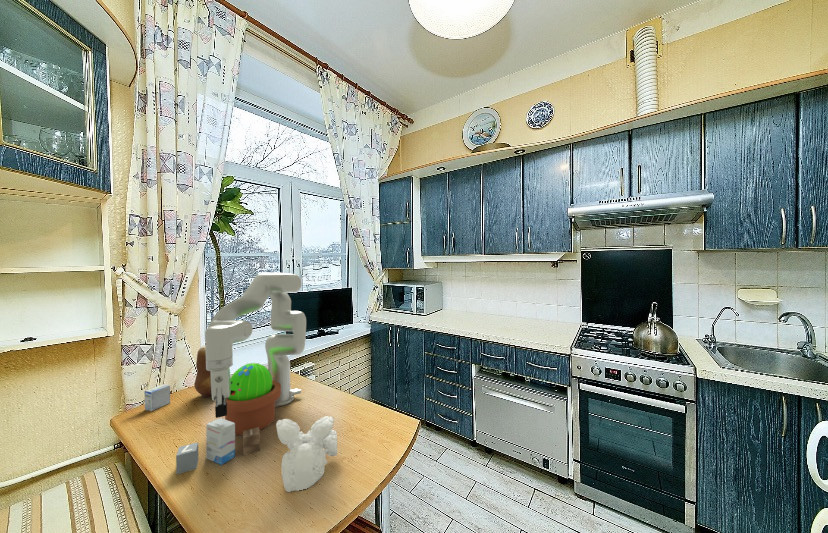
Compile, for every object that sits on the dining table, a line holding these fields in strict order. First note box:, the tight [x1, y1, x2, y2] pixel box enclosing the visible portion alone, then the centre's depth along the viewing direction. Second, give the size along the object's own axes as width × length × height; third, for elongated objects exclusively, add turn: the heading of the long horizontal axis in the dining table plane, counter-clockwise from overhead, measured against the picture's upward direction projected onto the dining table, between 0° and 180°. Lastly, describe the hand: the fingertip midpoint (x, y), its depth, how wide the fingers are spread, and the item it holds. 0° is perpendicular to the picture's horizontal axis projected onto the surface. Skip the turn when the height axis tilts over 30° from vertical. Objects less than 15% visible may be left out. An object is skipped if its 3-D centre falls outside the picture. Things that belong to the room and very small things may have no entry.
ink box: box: [205, 417, 236, 466], centre depth 99 cm, size 9×5×12 cm, turn 65°
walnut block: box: [242, 427, 261, 456], centre depth 104 cm, size 5×5×6 cm
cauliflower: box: [275, 415, 338, 493], centre depth 93 cm, size 19×20×20 cm
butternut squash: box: [194, 344, 212, 399], centre depth 145 cm, size 14×13×25 cm
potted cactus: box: [224, 362, 281, 436], centre depth 120 cm, size 22×22×25 cm
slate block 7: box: [175, 441, 200, 475], centre depth 95 cm, size 5×5×6 cm
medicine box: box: [144, 383, 171, 412], centre depth 134 cm, size 8×4×9 cm, turn 164°
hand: (221, 415), depth 99 cm, fingers closed
